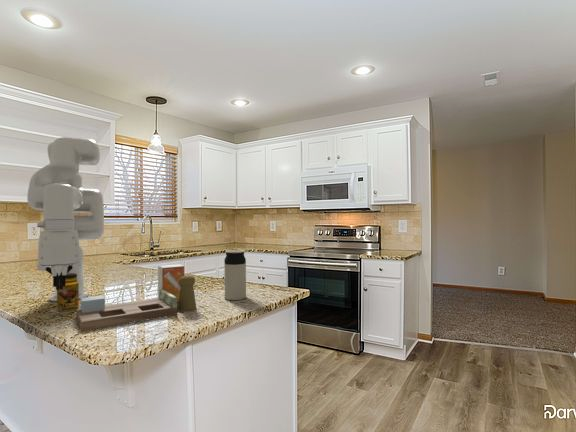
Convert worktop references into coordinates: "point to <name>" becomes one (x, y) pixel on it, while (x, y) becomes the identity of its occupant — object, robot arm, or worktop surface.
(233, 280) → the travel mug
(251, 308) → the worktop surface
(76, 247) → the robot arm
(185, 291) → the pepper mill
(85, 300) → the block
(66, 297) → the condiment
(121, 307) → the board
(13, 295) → the worktop surface
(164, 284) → the small box
